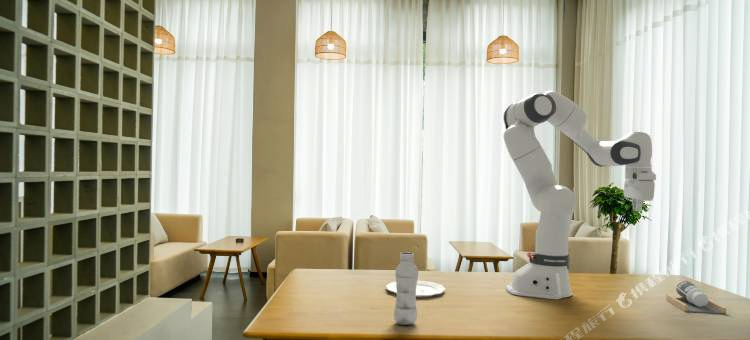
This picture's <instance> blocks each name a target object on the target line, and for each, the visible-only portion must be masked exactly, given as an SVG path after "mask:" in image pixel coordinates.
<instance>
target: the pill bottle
mask: <svg viewBox="0 0 750 340" xmlns="http://www.w3.org/2000/svg"><path fill="white" fill-rule="evenodd" d="M675 291H676V292H677V294H678V295H679V297H683V298H684V299H685V300H687V301H688V302H689V303H691V304H695V305H696V306H698V307H703V306H705V305H706V304H707V303H708V299H709V297H708V295H707V294H705V292H704V291H703V290H702V289H701V288H699V286H697V285H695V284H694V283H692V282H691V281H689V280H685V279H684V280H680V281H679V282H678V283H677V284H676V285H675Z"/></svg>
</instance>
